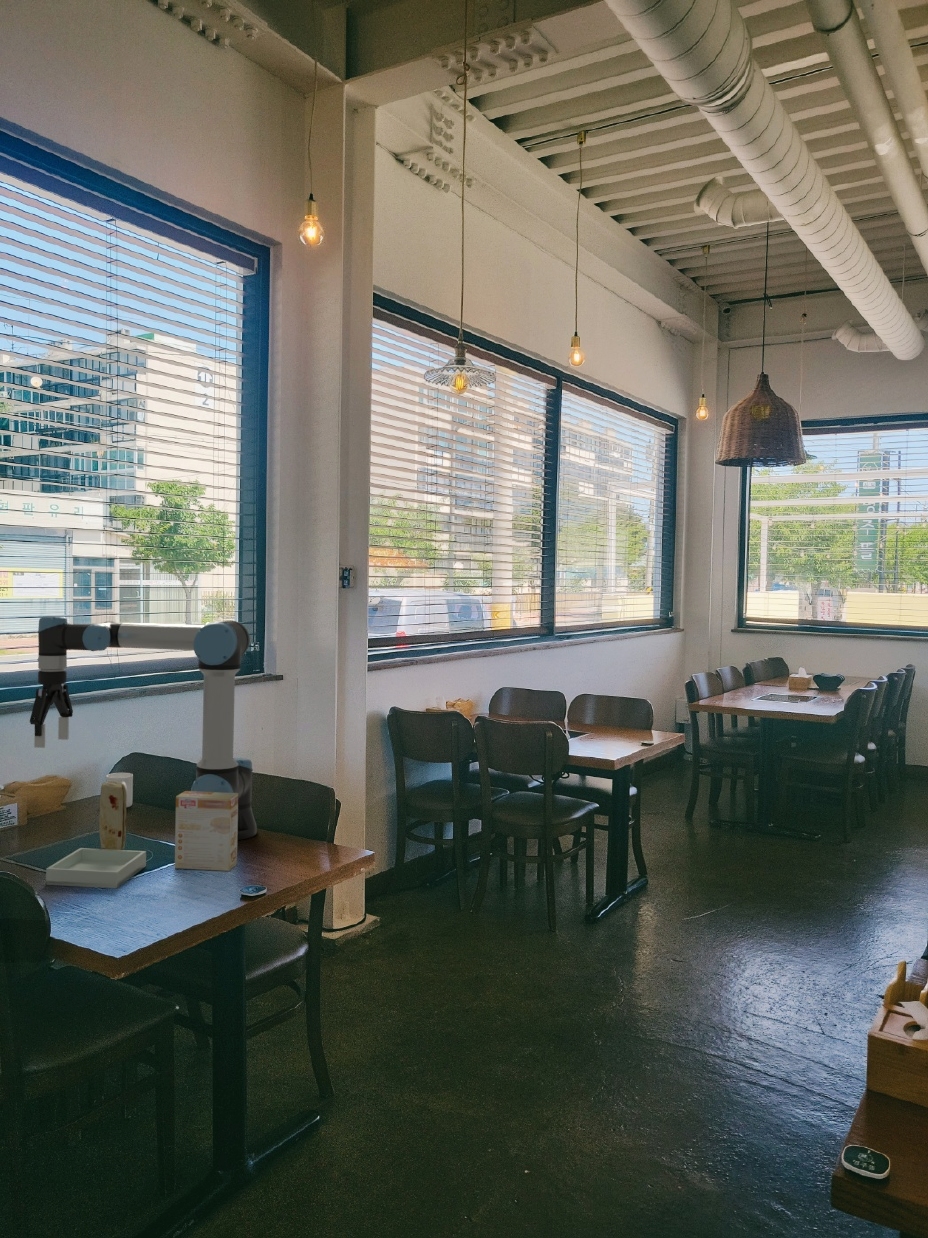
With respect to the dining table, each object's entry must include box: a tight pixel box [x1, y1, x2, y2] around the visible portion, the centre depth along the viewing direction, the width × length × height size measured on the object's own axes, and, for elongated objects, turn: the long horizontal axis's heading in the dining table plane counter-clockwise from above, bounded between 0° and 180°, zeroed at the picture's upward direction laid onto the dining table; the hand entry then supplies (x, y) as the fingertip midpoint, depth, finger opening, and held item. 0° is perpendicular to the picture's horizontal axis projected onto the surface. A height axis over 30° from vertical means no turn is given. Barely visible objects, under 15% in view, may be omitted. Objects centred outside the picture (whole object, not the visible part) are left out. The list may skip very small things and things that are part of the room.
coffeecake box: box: [174, 790, 238, 872], centre depth 250 cm, size 15×7×20 cm, turn 86°
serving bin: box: [45, 847, 147, 889], centre depth 240 cm, size 18×18×4 cm
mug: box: [105, 772, 134, 809], centre depth 309 cm, size 12×8×10 cm
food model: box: [98, 781, 127, 850], centre depth 259 cm, size 10×7×20 cm
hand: (51, 743), depth 270 cm, fingers open, 13 cm apart
